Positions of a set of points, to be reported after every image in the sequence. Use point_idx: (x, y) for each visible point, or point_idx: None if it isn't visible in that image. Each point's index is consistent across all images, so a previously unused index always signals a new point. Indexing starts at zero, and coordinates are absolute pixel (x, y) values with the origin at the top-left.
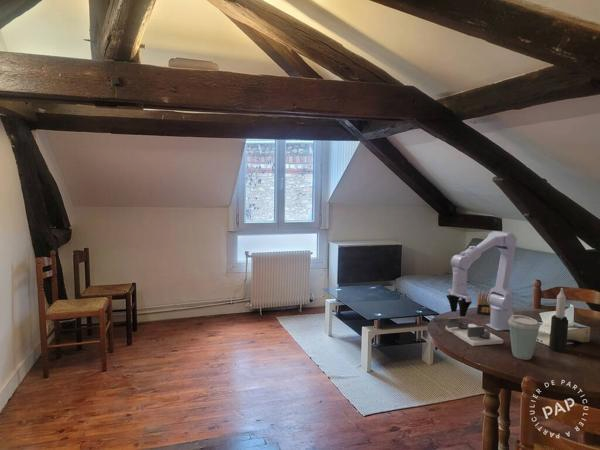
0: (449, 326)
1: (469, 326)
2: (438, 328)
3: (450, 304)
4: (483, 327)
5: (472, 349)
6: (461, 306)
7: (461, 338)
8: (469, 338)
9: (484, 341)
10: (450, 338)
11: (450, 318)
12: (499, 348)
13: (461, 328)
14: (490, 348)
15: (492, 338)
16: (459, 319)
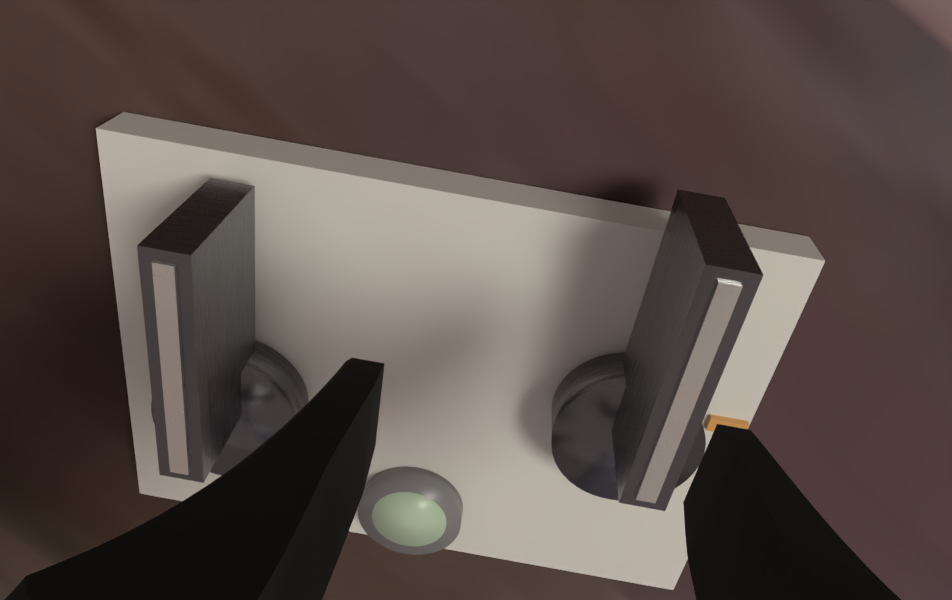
0: (676, 216)
1: None
2: (897, 154)
3: (815, 548)
4: (160, 456)
5: (4, 7)
6: (155, 517)
7: (393, 163)
8: None
9: (116, 291)
10: (462, 13)
11: (710, 312)
12: (26, 337)
13: (589, 360)
14: (30, 252)
15: None
16: (634, 437)
